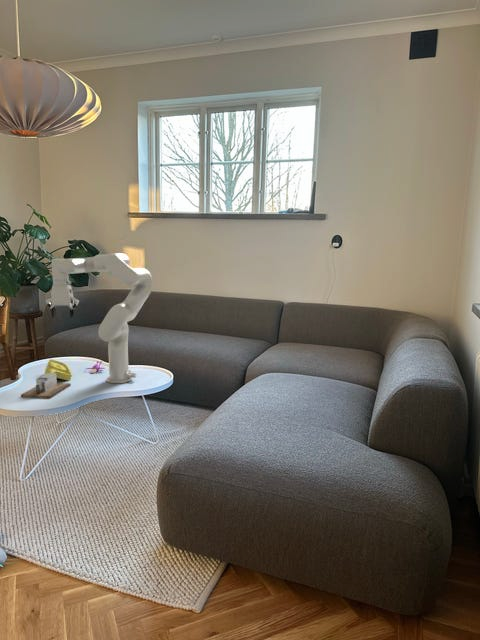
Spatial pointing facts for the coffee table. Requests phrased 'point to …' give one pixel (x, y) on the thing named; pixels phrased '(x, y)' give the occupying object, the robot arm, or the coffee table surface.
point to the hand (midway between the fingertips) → (63, 316)
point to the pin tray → (48, 394)
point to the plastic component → (58, 369)
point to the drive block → (47, 382)
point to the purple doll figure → (96, 368)
